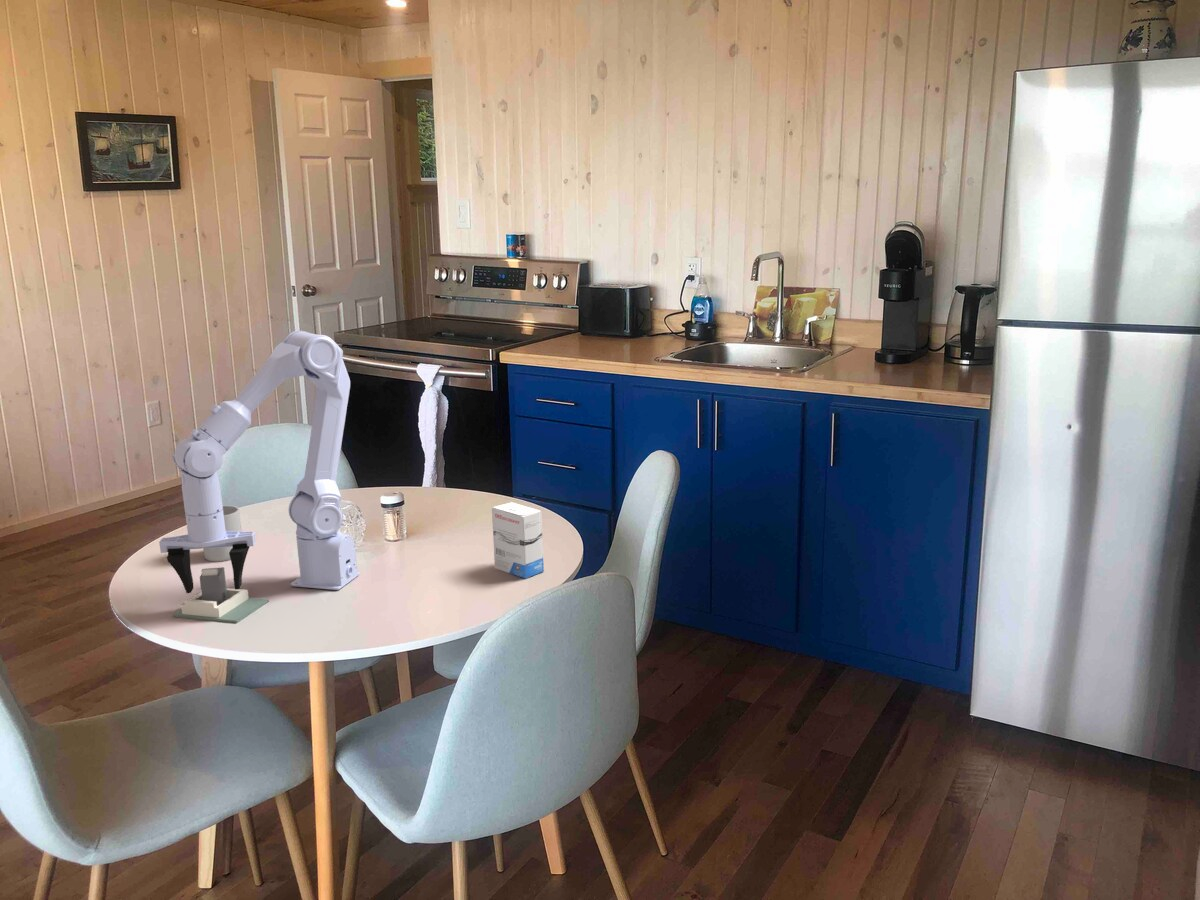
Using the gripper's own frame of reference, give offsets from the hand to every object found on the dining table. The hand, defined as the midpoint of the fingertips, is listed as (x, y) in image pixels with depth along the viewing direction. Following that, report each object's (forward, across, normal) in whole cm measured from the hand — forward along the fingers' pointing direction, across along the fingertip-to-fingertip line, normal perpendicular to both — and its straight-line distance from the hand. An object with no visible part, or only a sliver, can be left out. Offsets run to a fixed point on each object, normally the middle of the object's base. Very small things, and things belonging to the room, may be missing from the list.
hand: (214, 589), depth 161 cm
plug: (+3, 0, 0) cm, 3 cm away
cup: (+4, +6, -28) cm, 28 cm away
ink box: (+4, -51, -7) cm, 52 cm away
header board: (+3, -1, 0) cm, 4 cm away
